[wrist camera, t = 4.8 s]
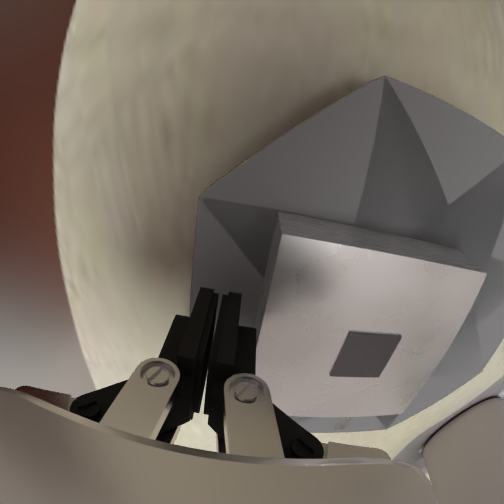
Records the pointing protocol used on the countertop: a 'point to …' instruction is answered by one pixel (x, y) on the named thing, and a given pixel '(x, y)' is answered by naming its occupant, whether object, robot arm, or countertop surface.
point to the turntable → (369, 211)
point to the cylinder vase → (469, 456)
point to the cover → (356, 316)
